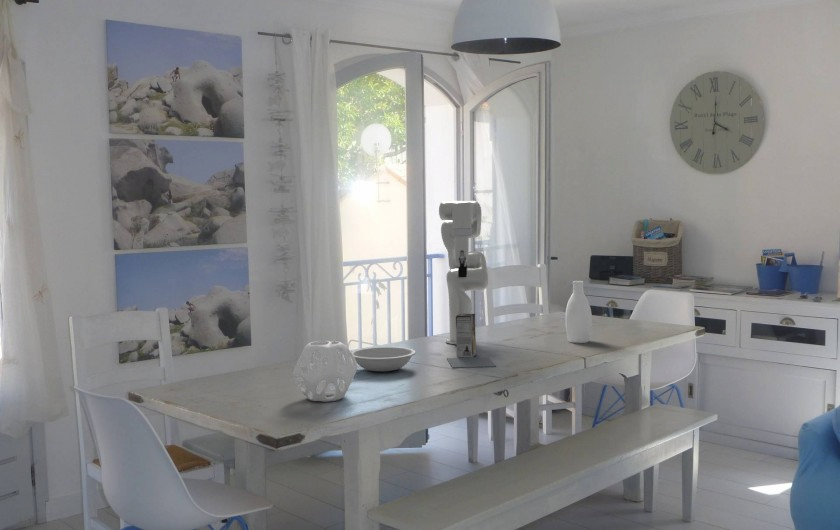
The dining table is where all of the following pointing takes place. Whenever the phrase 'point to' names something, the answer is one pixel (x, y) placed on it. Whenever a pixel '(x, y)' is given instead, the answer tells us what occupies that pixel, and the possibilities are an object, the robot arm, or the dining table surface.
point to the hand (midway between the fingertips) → (462, 276)
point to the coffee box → (465, 335)
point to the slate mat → (471, 362)
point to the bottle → (578, 315)
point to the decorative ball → (325, 370)
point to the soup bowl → (383, 358)
